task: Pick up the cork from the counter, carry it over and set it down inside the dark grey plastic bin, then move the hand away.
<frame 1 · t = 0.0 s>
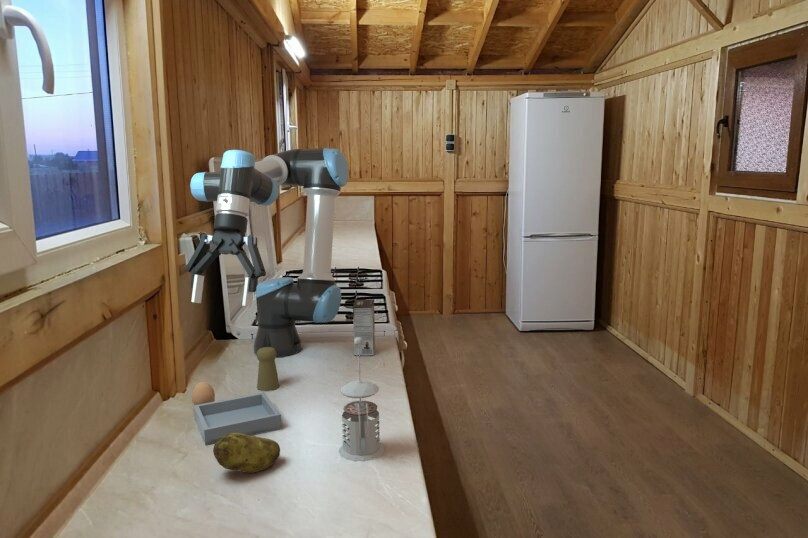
hand: (221, 304, 143), 28 cm above the worktop, tool tilted 20°, fingers open, 13 cm apart
egg: (204, 409, 153), on the worktop
coffee box: (364, 352, 196), on the worktop
potato: (248, 470, 124), on the worktop
grey bin: (237, 423, 144), on the worktop
cork: (268, 387, 167), on the worktop
french press: (362, 452, 130), on the worktop
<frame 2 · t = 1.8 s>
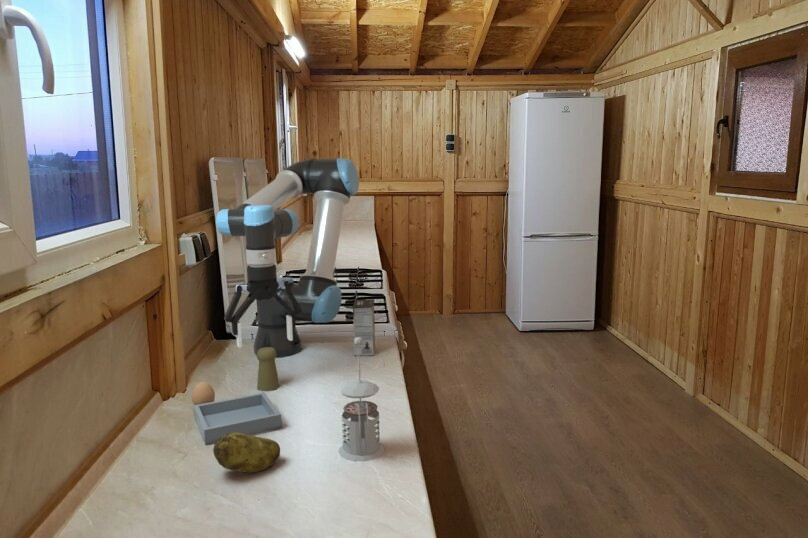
hand: (265, 343, 164), 13 cm above the worktop, tool pointing down, fingers open, 13 cm apart
nothing on the worktop moved.
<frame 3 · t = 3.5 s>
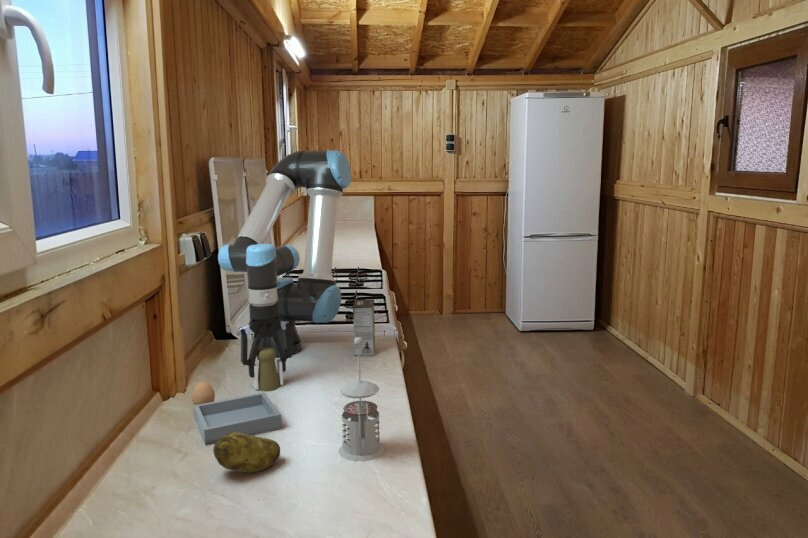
hand: (268, 385, 167), 0 cm above the worktop, tool pointing down, fingers closed on cork, 6 cm apart
cork: (268, 387, 167), on the worktop, touching gripper
everything else where it was.
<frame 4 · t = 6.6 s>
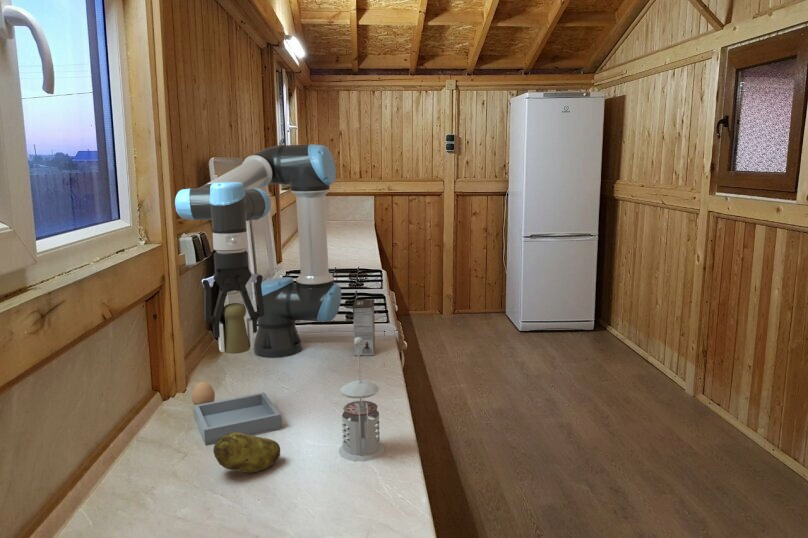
hand: (236, 348, 144), 18 cm above the worktop, tool pointing down, fingers closed on cork, 6 cm apart
cork: (236, 350, 144), point 17 cm above the worktop, touching gripper
everything else where it was.
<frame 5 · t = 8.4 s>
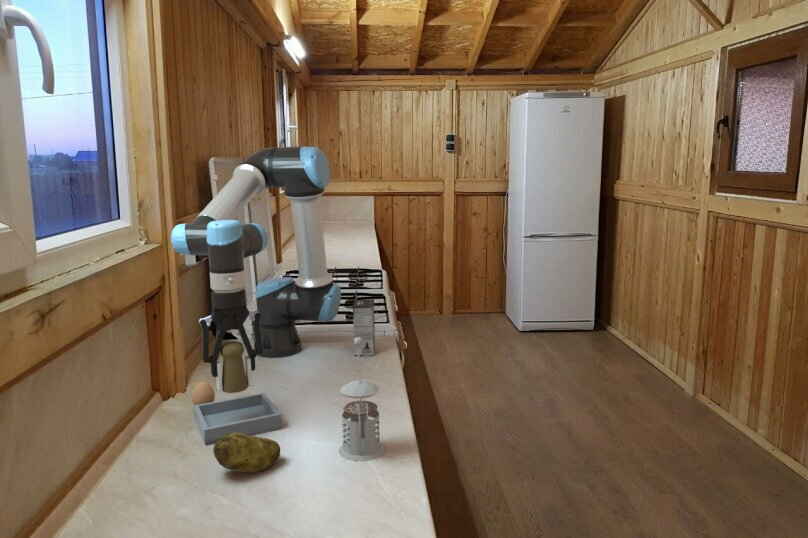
hand: (234, 386, 143), 9 cm above the worktop, tool pointing down, fingers closed on cork, 6 cm apart
cork: (234, 388, 143), point 9 cm above the worktop, touching gripper
everything else where it was.
when the fingers open (3 cm above the worktop, at t = 9.8 s): cork drops 2 cm, resting on grey bin.
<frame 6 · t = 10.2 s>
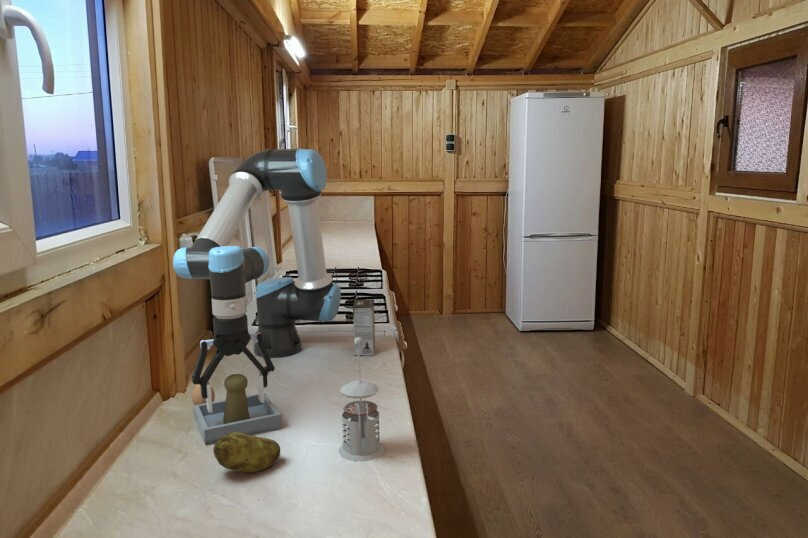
hand: (236, 405, 144), 5 cm above the worktop, tool pointing down, fingers open, 11 cm apart
cork: (236, 420, 144), point 1 cm above the worktop, touching grey bin
everything else where it was.
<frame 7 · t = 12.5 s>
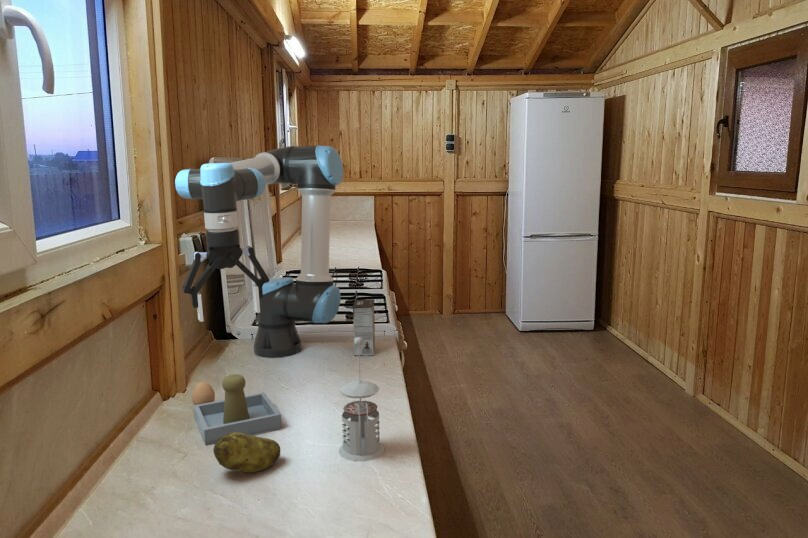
hand: (229, 315, 150), 24 cm above the worktop, tool pointing down, fingers open, 13 cm apart
nothing on the worktop moved.
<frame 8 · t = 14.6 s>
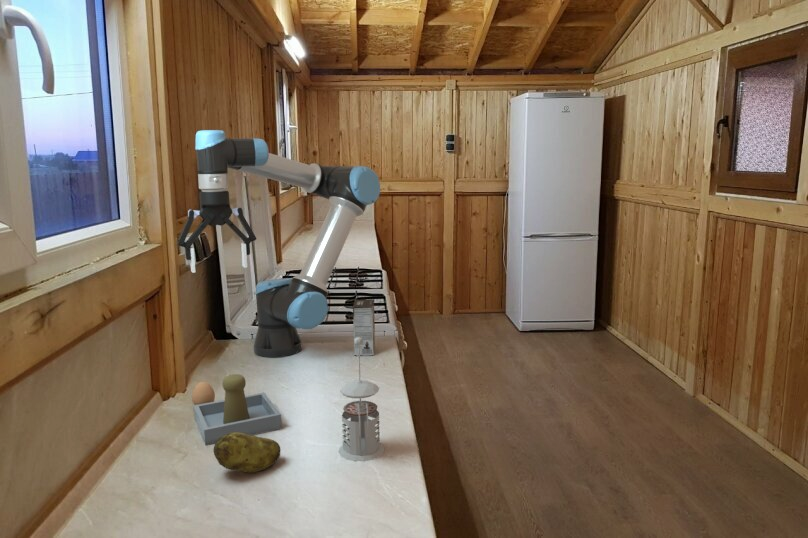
hand: (219, 269, 166), 32 cm above the worktop, tool pointing down, fingers open, 13 cm apart
nothing on the worktop moved.
at the end: cork inside the target area on the grey bin (0.1 cm from its centre), point 0.6 cm above the grey bin's base; the gripper is holding nothing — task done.
